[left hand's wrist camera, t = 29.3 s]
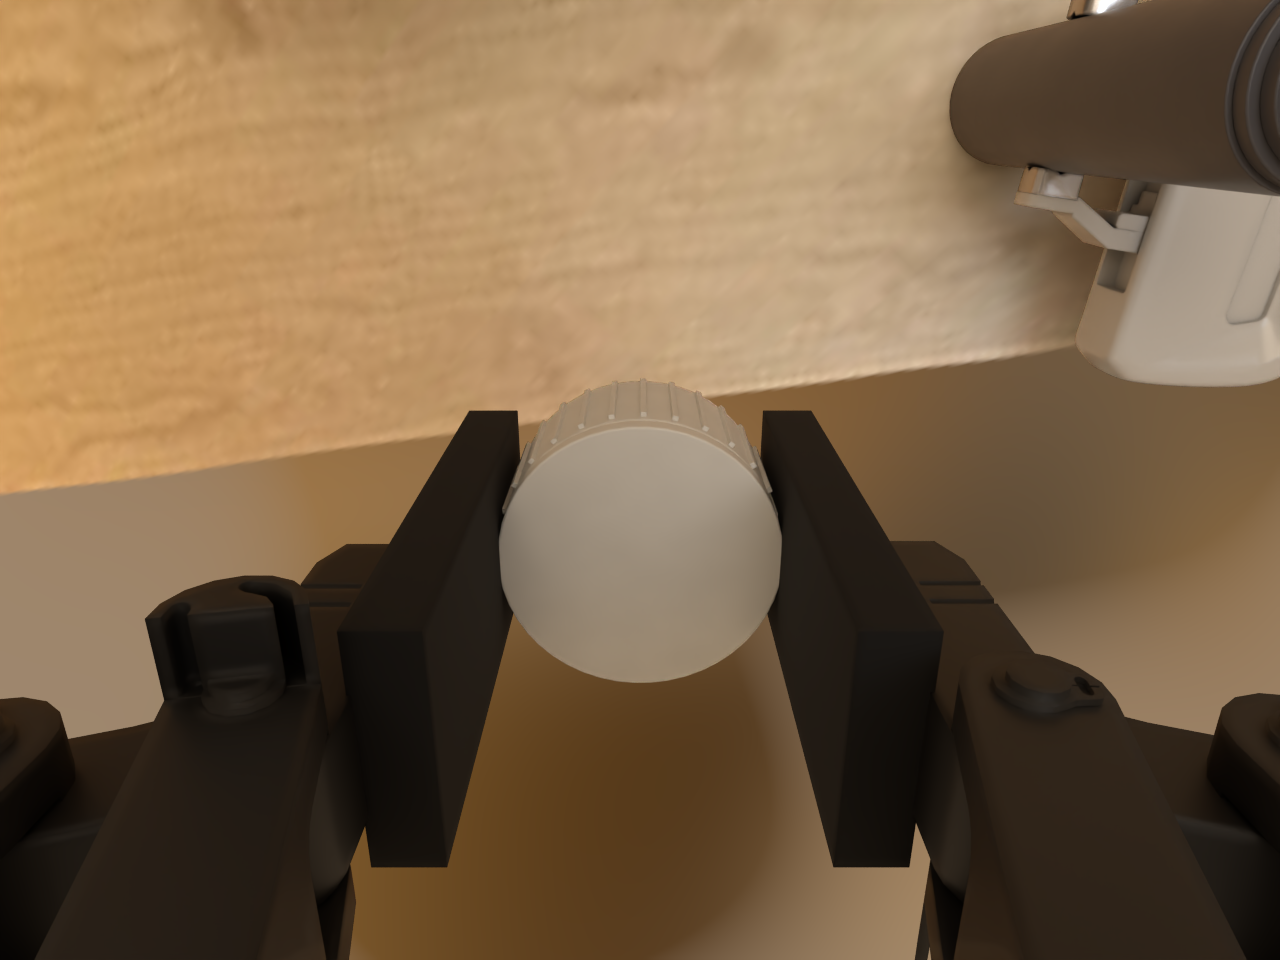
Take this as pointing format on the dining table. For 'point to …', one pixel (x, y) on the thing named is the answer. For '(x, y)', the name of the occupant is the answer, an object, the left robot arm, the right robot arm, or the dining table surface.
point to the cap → (640, 534)
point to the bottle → (1134, 96)
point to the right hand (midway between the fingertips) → (1049, 94)
